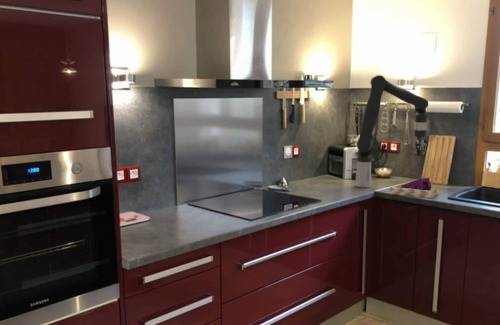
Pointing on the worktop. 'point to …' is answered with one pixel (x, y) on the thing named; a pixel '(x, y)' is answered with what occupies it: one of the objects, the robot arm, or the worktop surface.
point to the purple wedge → (419, 184)
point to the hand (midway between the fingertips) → (419, 155)
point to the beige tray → (414, 192)
